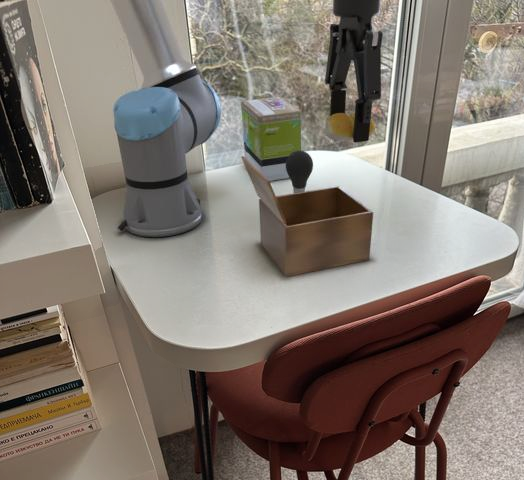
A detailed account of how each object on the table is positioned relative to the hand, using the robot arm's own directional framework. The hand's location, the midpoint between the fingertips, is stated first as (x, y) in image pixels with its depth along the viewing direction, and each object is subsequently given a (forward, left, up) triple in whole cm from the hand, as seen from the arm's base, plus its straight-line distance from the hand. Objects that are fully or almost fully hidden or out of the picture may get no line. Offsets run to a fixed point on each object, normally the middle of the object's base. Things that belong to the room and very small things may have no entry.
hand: (348, 134), depth 101 cm
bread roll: (0, 0, 0) cm, 0 cm away
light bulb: (-5, +10, -15) cm, 19 cm away
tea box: (-4, +30, -15) cm, 34 cm away
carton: (-12, -14, -15) cm, 24 cm away
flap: (-21, -14, -2) cm, 25 cm away
